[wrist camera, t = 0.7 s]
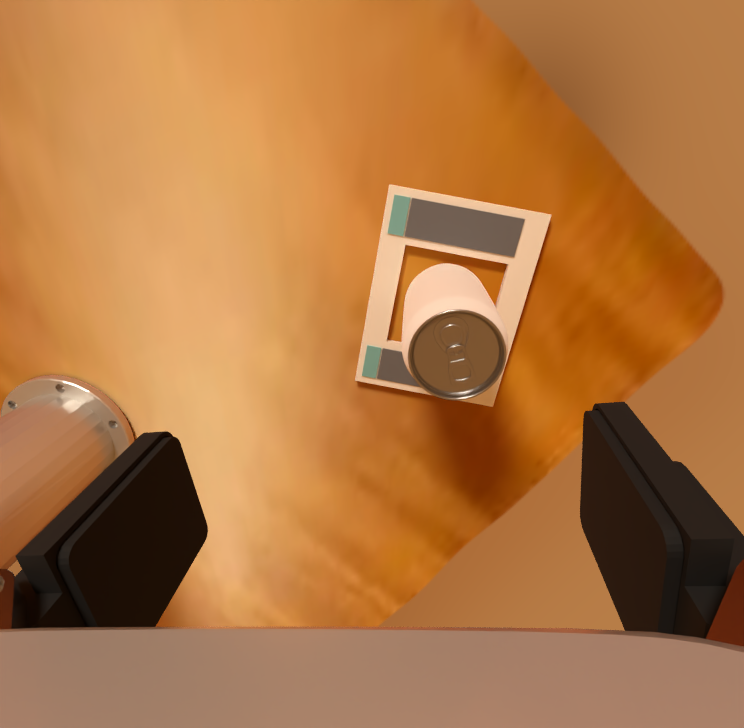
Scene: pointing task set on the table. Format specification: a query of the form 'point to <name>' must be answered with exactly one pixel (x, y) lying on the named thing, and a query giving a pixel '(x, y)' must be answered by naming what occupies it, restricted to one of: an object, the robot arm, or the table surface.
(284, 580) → the table surface
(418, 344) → the can
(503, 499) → the table surface
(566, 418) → the table surface
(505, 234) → the label board
